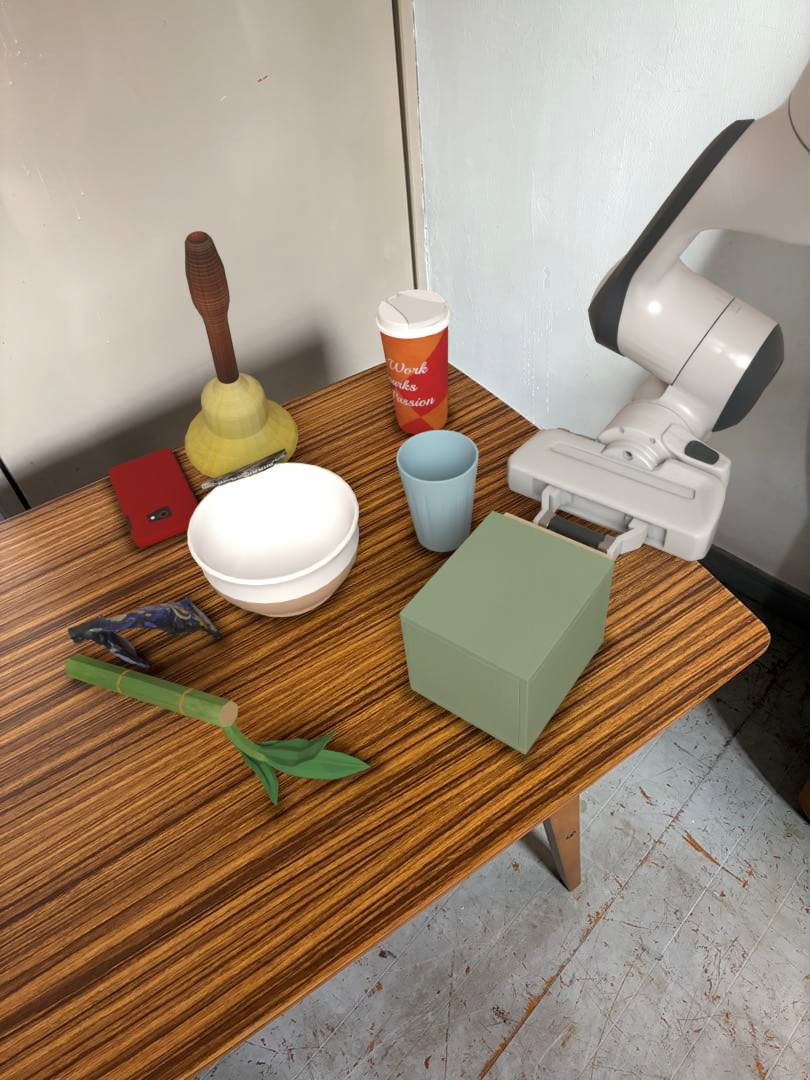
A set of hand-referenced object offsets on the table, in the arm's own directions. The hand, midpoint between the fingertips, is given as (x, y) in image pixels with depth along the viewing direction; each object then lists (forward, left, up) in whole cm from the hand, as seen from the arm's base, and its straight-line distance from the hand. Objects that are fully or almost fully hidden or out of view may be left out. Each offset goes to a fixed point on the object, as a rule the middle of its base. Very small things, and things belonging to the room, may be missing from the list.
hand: (571, 543), depth 71 cm
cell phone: (+45, -12, -5) cm, 47 cm away
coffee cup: (+16, -26, -6) cm, 31 cm away
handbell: (+35, -15, -1) cm, 38 cm away
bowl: (+27, 0, -6) cm, 28 cm away
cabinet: (+5, +9, -6) cm, 12 cm away
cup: (+12, -7, -6) cm, 15 cm away
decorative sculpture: (+28, -12, 0) cm, 31 cm away
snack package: (+43, +12, -2) cm, 45 cm away
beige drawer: (+3, +6, -5) cm, 8 cm away
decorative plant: (+31, +17, -6) cm, 36 cm away
